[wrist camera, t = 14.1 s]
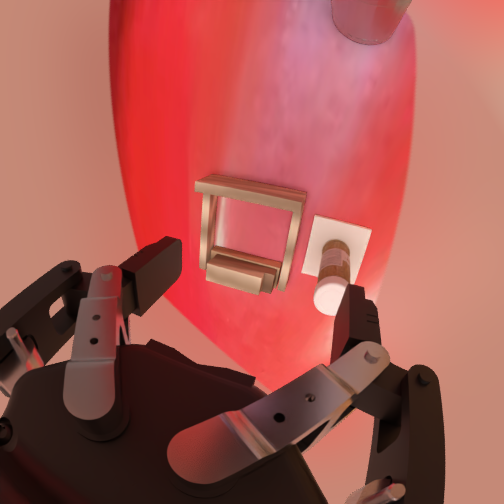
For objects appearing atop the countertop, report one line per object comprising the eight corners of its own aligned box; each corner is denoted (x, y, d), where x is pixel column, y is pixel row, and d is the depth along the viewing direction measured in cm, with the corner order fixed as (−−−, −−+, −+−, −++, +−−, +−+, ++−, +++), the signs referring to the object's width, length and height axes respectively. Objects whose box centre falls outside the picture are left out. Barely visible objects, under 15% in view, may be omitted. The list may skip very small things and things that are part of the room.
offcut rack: (212, 174, 43) (195, 181, 38) (306, 192, 40) (301, 202, 35) (206, 262, 51) (191, 278, 46) (287, 284, 48) (279, 304, 43)
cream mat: (315, 214, 41) (314, 215, 40) (371, 228, 39) (371, 230, 39) (301, 270, 46) (301, 272, 45) (353, 283, 44) (353, 285, 43)
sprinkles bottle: (350, 264, 42) (352, 316, 30) (322, 265, 43) (314, 317, 32) (349, 237, 40) (352, 283, 29) (320, 239, 42) (311, 285, 30)
